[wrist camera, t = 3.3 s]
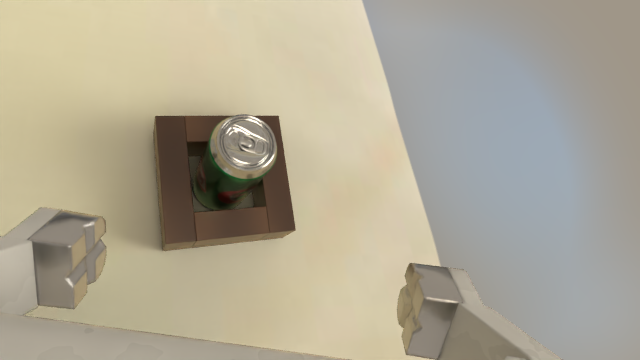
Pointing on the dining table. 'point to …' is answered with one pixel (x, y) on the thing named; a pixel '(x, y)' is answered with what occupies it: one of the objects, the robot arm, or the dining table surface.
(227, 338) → the dining table surface
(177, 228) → the can holder
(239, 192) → the soda can
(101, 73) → the dining table surface
